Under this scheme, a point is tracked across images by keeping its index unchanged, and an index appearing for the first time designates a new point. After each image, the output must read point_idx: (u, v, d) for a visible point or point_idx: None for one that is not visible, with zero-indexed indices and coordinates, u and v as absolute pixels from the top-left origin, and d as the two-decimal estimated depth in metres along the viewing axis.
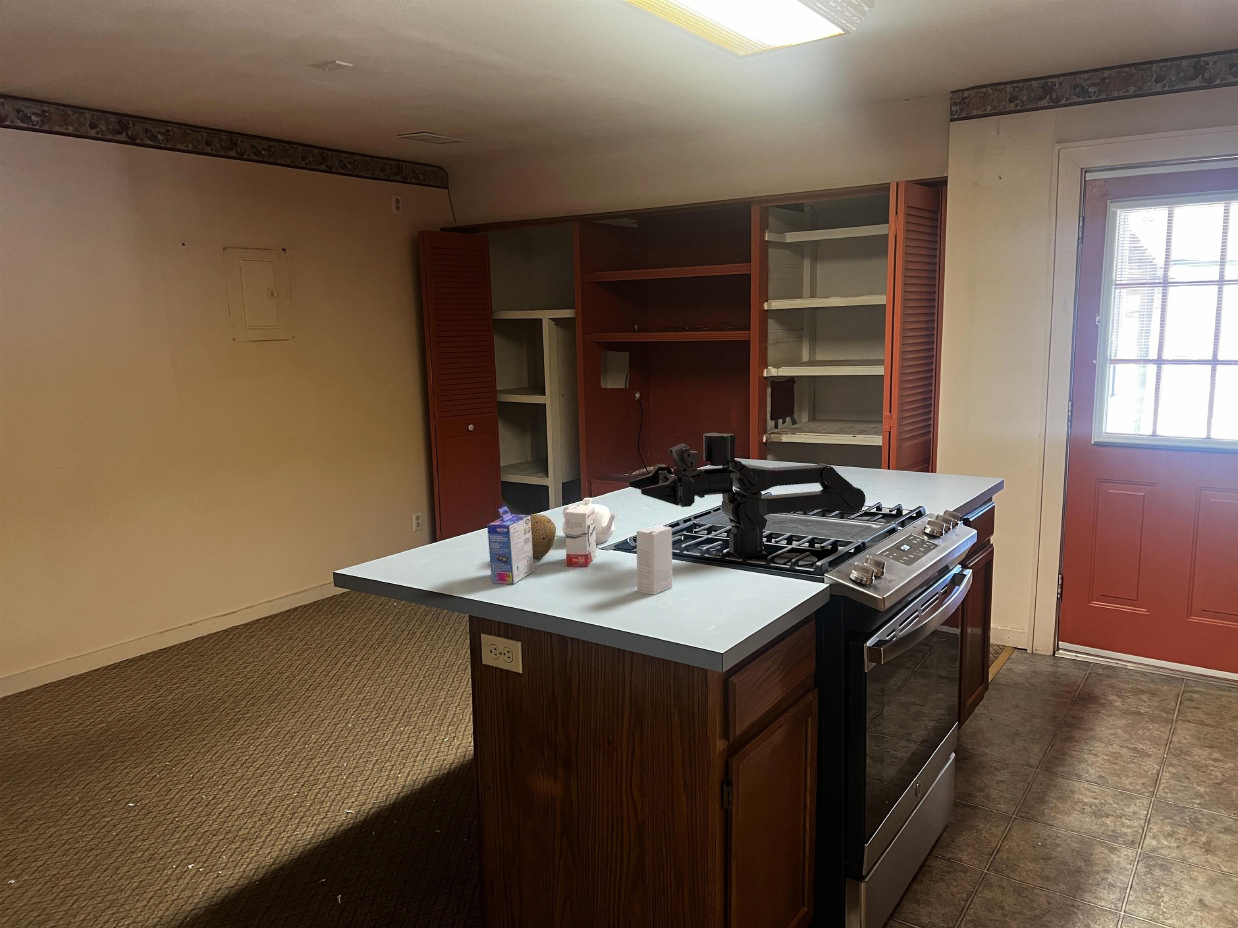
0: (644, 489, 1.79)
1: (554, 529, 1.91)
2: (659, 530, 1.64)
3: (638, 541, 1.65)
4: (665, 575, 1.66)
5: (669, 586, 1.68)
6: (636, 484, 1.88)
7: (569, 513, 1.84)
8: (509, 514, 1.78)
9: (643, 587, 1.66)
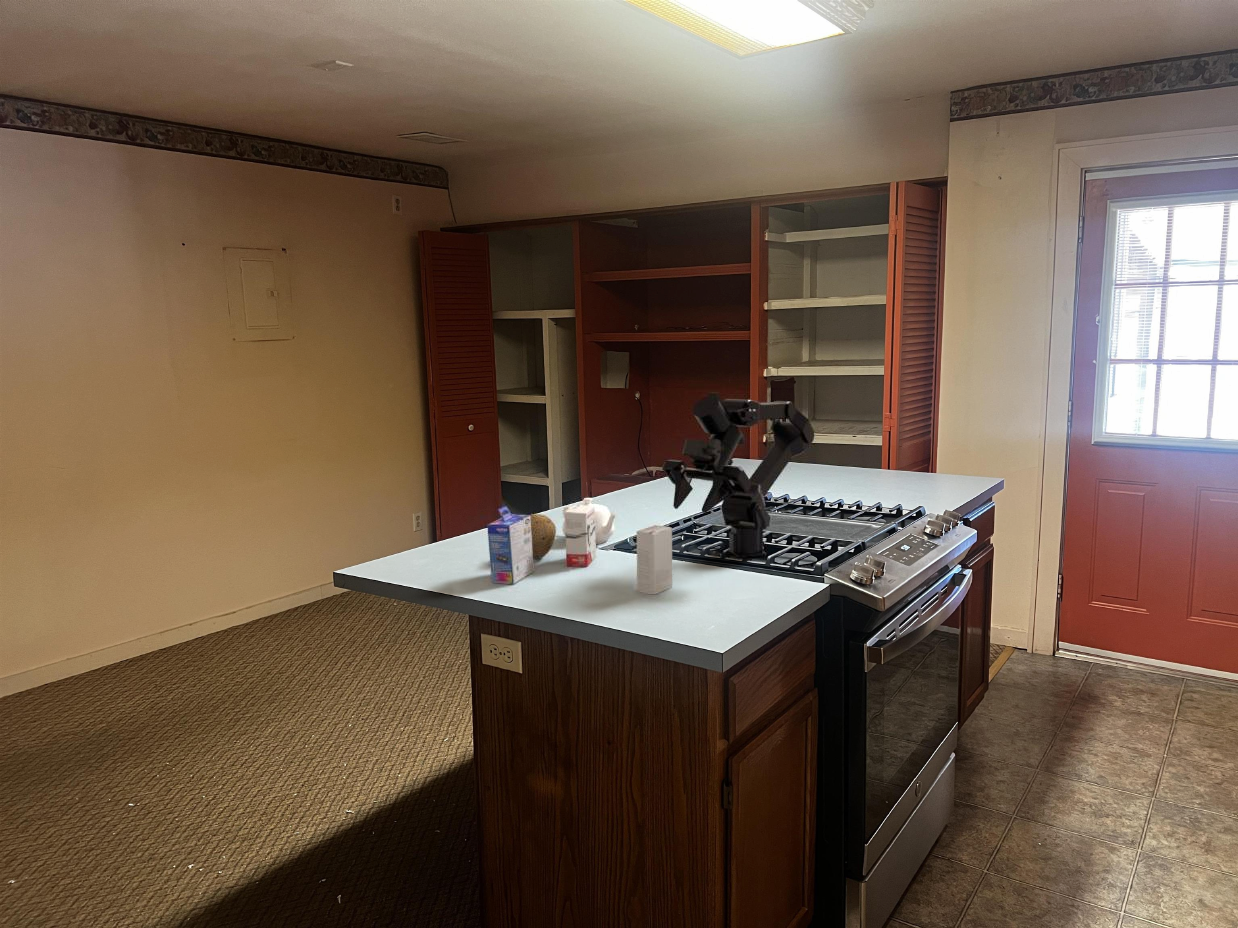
0: (704, 508, 1.72)
1: (554, 529, 1.91)
2: (659, 530, 1.64)
3: (638, 541, 1.65)
4: (665, 575, 1.66)
5: (669, 586, 1.68)
6: (679, 501, 1.77)
7: (569, 513, 1.84)
8: (509, 514, 1.78)
9: (643, 587, 1.66)
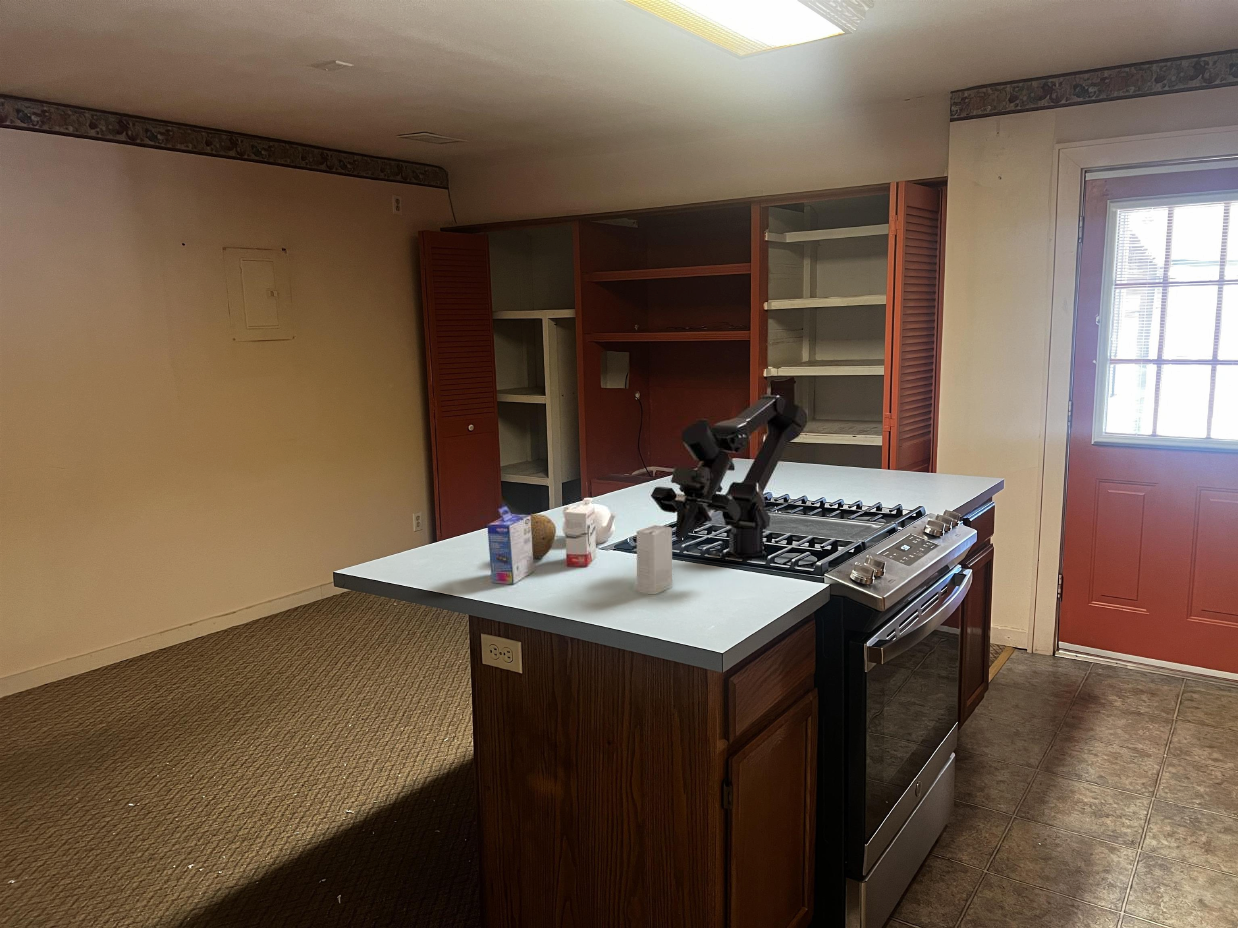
0: (680, 534, 1.72)
1: (554, 529, 1.91)
2: (659, 530, 1.64)
3: (638, 541, 1.65)
4: (665, 575, 1.66)
5: (669, 586, 1.68)
6: None
7: (569, 513, 1.84)
8: (509, 514, 1.78)
9: (643, 587, 1.66)
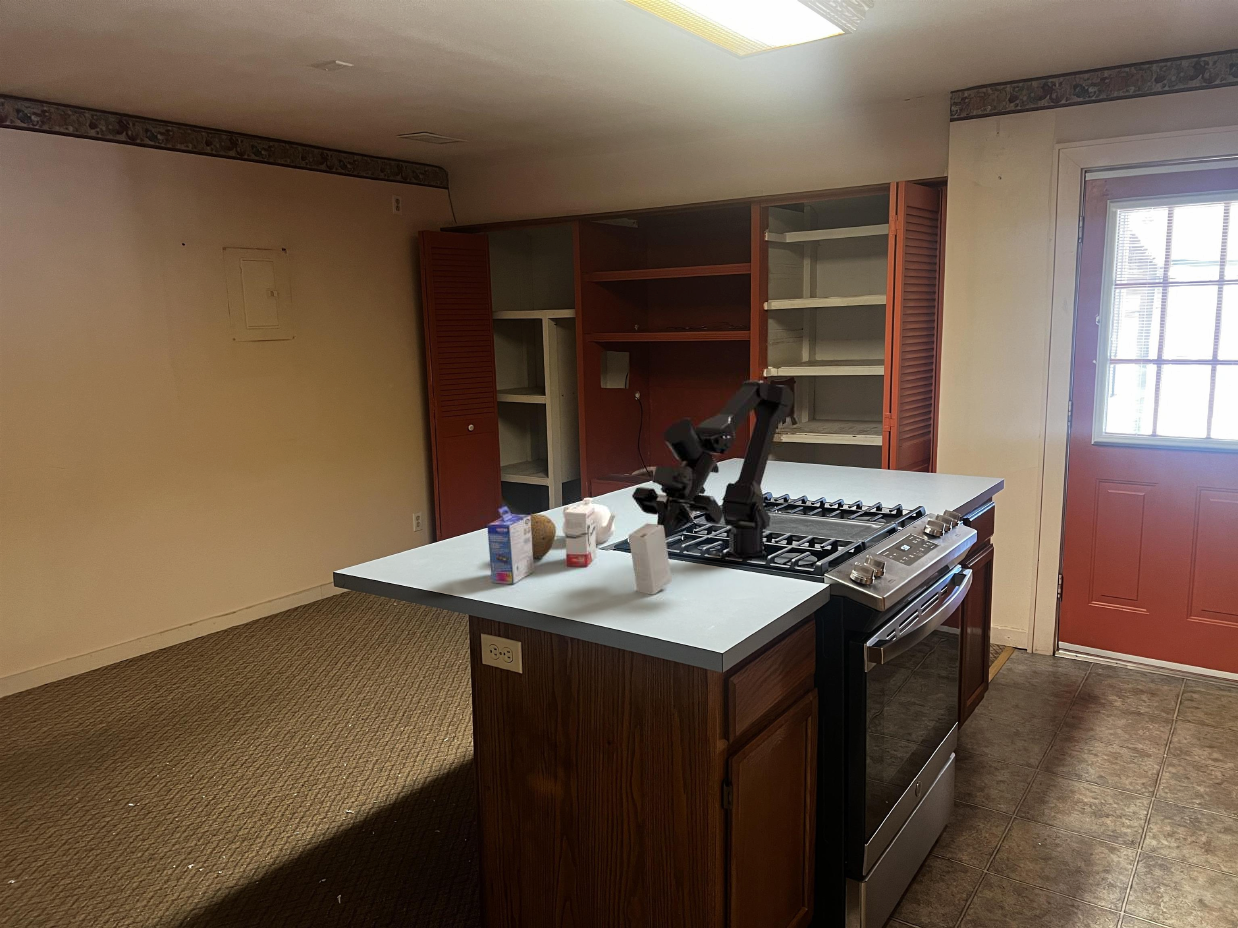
0: None
1: (554, 529, 1.91)
2: (651, 531, 1.62)
3: (631, 544, 1.63)
4: (663, 572, 1.66)
5: (668, 581, 1.67)
6: None
7: (569, 513, 1.84)
8: (509, 514, 1.78)
9: (642, 587, 1.66)
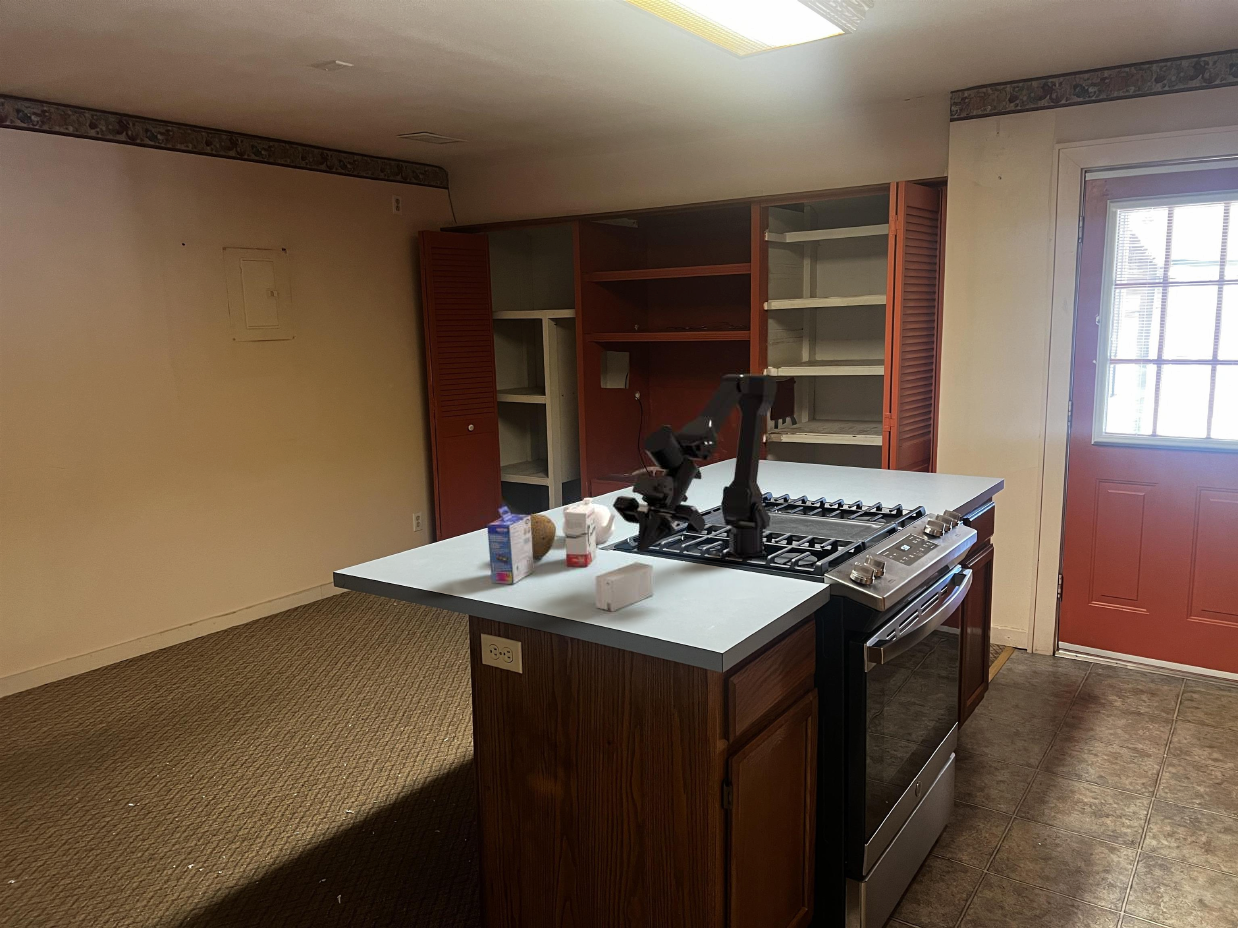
0: (641, 547, 1.63)
1: (554, 529, 1.91)
2: (610, 597, 1.55)
3: None
4: (643, 580, 1.61)
5: (651, 570, 1.63)
6: None
7: (569, 513, 1.84)
8: (509, 514, 1.78)
9: None
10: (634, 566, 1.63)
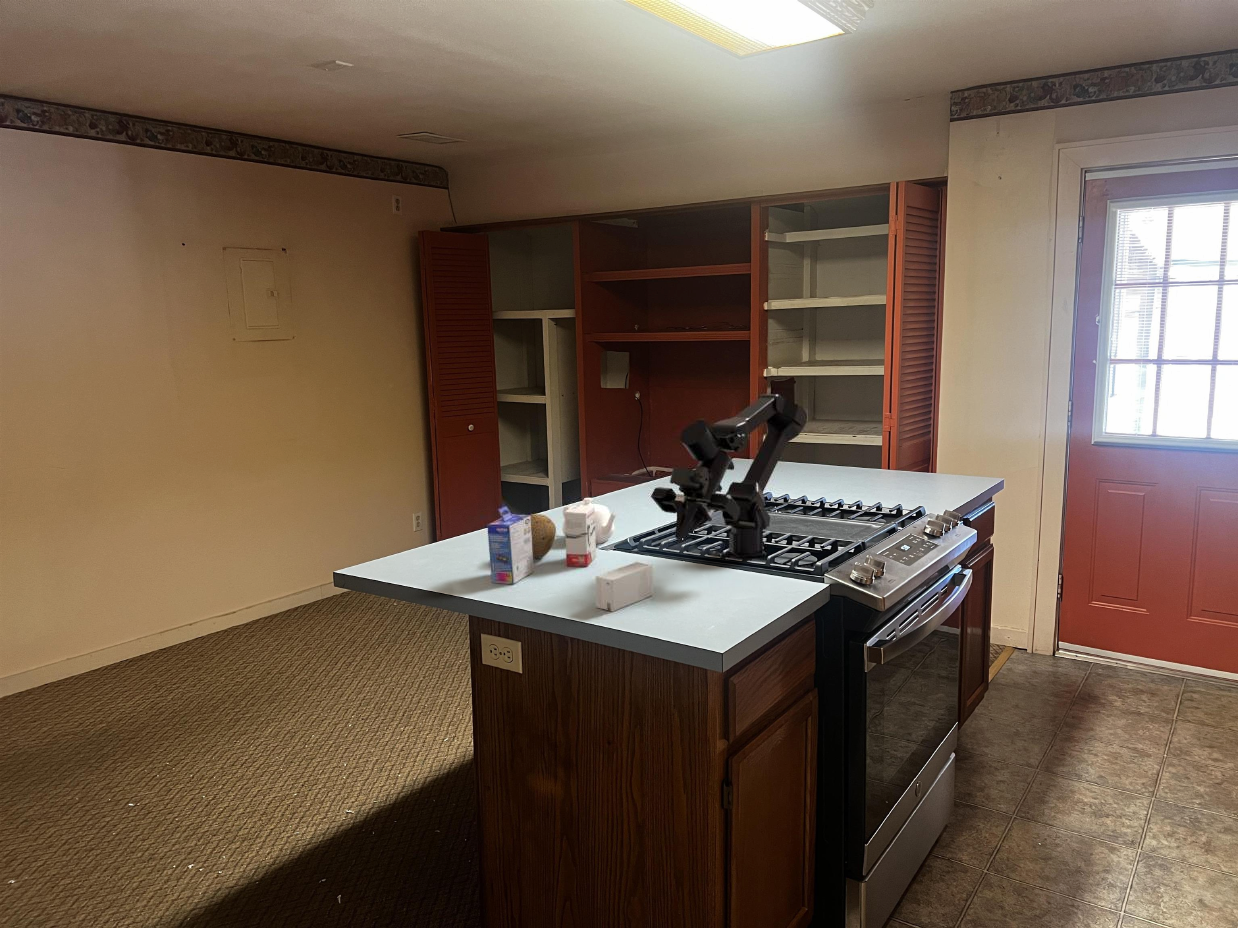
0: (680, 535, 1.72)
1: (554, 529, 1.91)
2: (610, 597, 1.55)
3: None
4: (643, 580, 1.61)
5: (651, 570, 1.63)
6: None
7: (569, 513, 1.84)
8: (509, 514, 1.78)
9: None
10: (634, 566, 1.63)
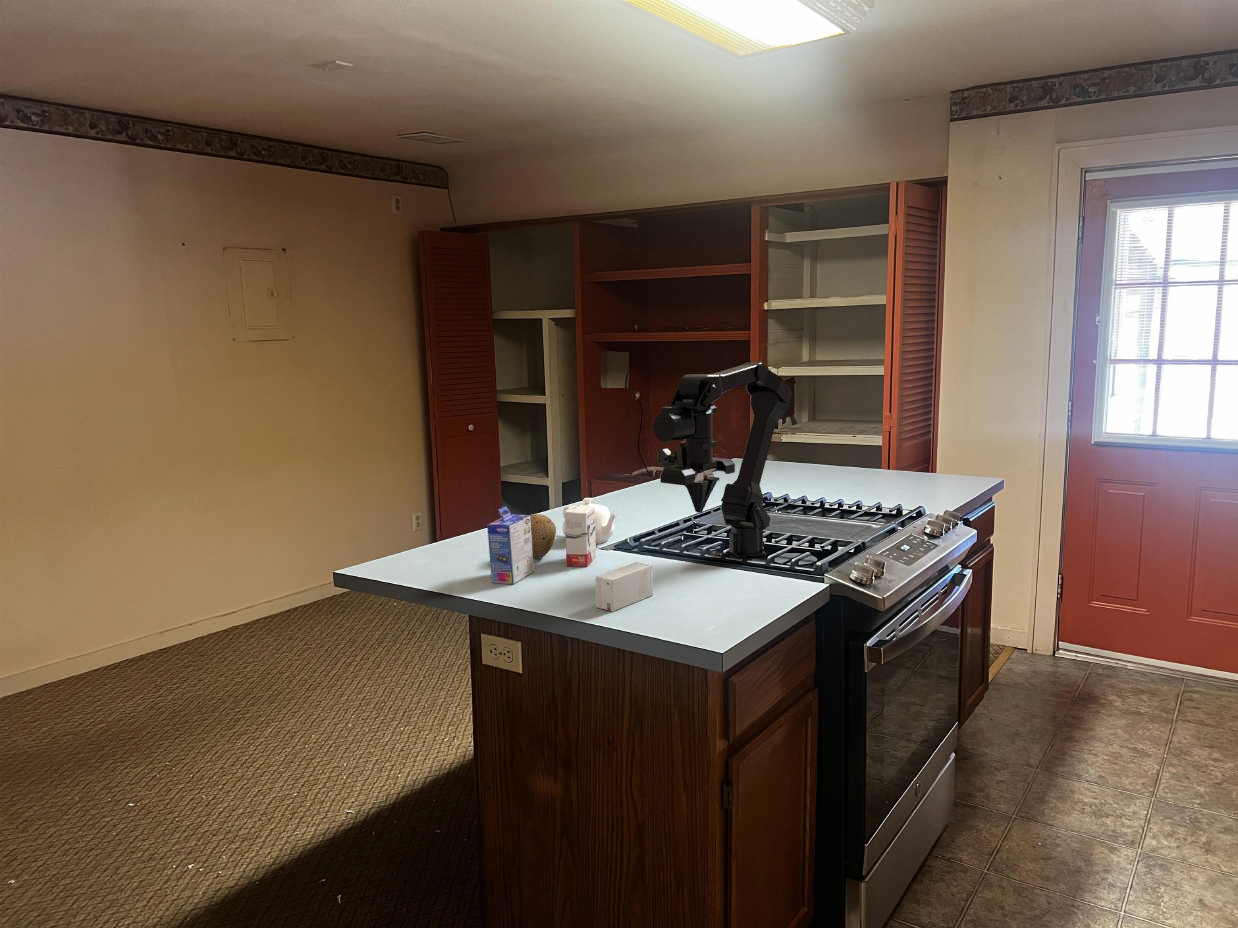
0: (695, 509, 1.79)
1: (554, 529, 1.91)
2: (610, 597, 1.55)
3: None
4: (643, 580, 1.61)
5: (651, 570, 1.63)
6: None
7: (569, 513, 1.84)
8: (509, 514, 1.78)
9: None
10: (634, 566, 1.63)
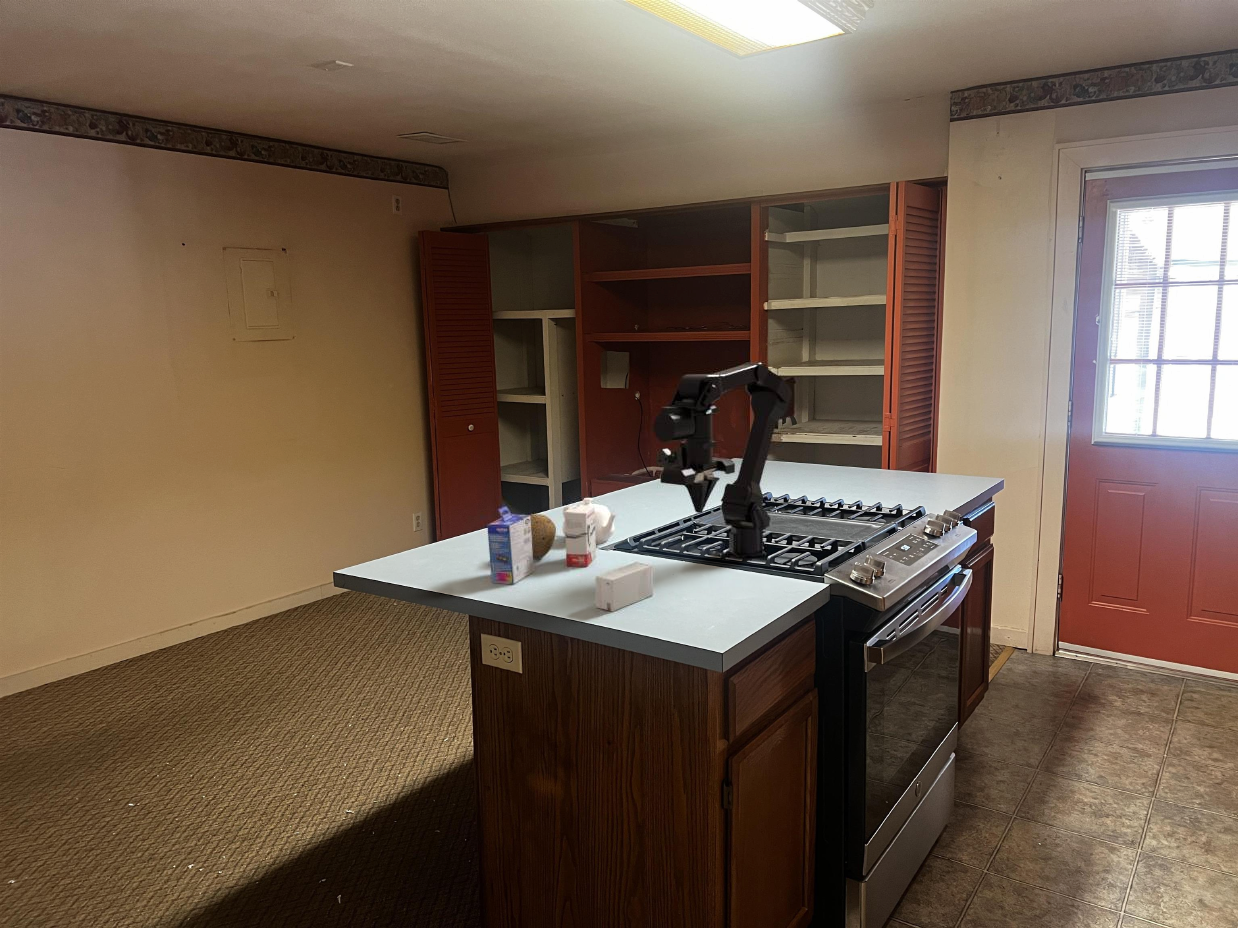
0: (695, 509, 1.79)
1: (554, 529, 1.91)
2: (610, 597, 1.55)
3: None
4: (643, 580, 1.61)
5: (651, 570, 1.63)
6: None
7: (569, 513, 1.84)
8: (509, 514, 1.78)
9: None
10: (634, 566, 1.63)
